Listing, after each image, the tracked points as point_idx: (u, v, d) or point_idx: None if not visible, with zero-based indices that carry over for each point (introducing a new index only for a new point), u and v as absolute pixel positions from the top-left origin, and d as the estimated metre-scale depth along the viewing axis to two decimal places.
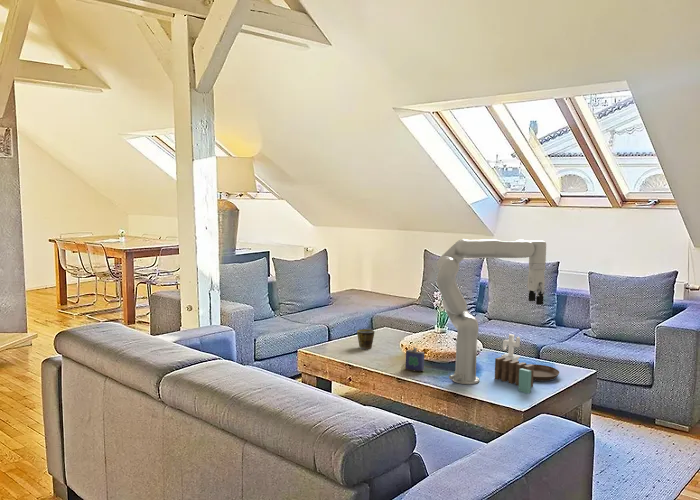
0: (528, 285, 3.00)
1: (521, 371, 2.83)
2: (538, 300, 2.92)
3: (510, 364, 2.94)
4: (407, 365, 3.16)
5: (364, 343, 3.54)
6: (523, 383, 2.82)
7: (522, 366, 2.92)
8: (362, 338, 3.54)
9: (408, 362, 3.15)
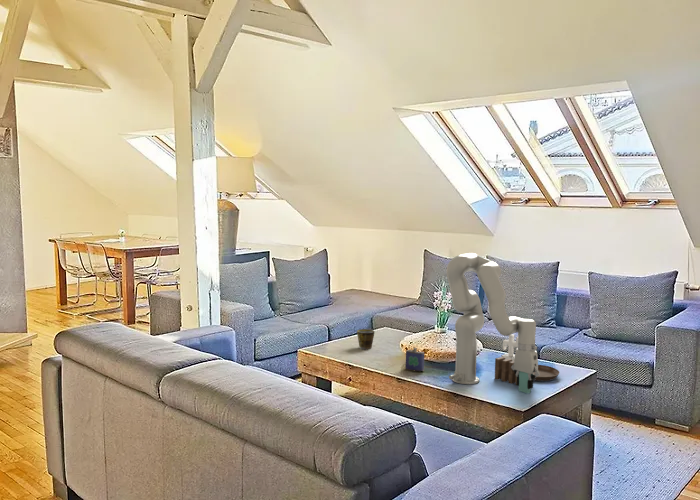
0: None
1: None
2: None
3: (510, 364, 2.94)
4: (407, 365, 3.16)
5: (364, 343, 3.54)
6: (523, 383, 2.82)
7: None
8: (362, 338, 3.54)
9: (408, 362, 3.15)
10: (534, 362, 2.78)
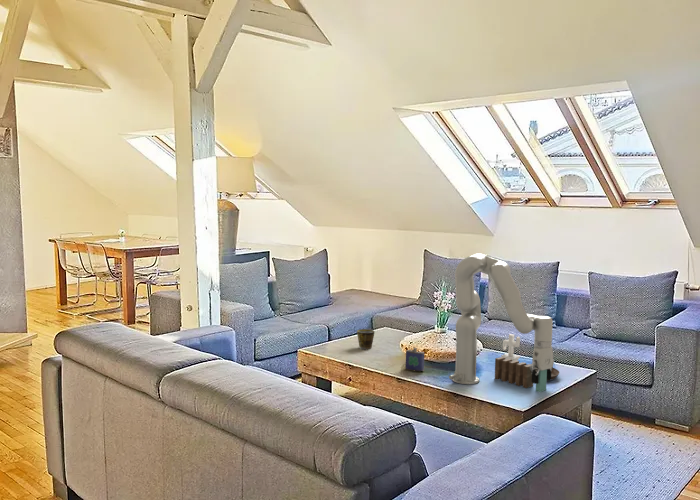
0: (543, 366, 2.80)
1: None
2: None
3: (510, 364, 2.94)
4: (407, 365, 3.16)
5: (364, 343, 3.54)
6: None
7: (522, 366, 2.92)
8: (362, 338, 3.54)
9: (408, 362, 3.15)
10: (534, 358, 2.81)
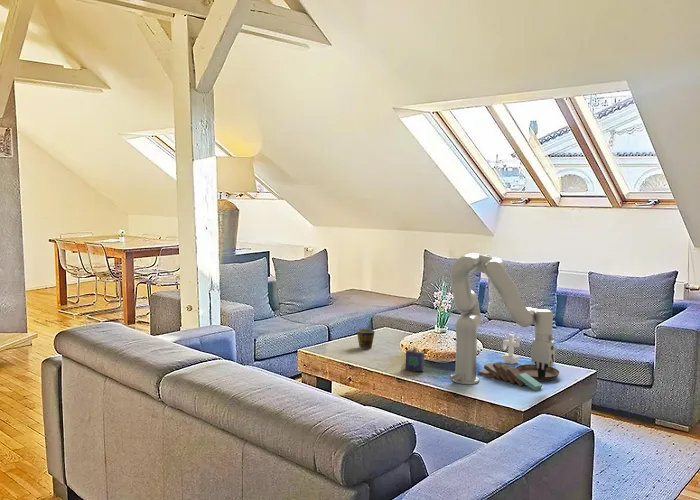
0: None
1: None
2: None
3: (494, 366, 3.02)
4: (407, 365, 3.16)
5: (364, 343, 3.54)
6: None
7: (504, 366, 3.00)
8: (362, 338, 3.54)
9: (408, 362, 3.15)
10: (551, 352, 2.79)
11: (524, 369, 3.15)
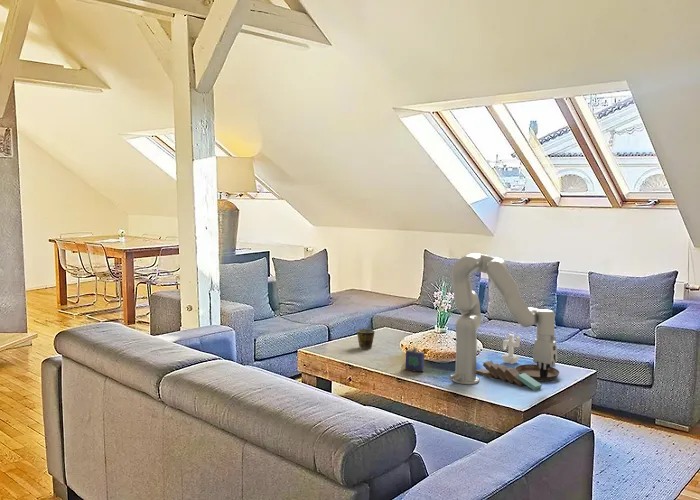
0: None
1: None
2: None
3: (491, 368, 3.03)
4: (407, 365, 3.16)
5: (364, 343, 3.54)
6: None
7: (502, 367, 3.01)
8: (362, 338, 3.54)
9: (408, 362, 3.15)
10: (553, 352, 2.79)
11: (524, 369, 3.15)
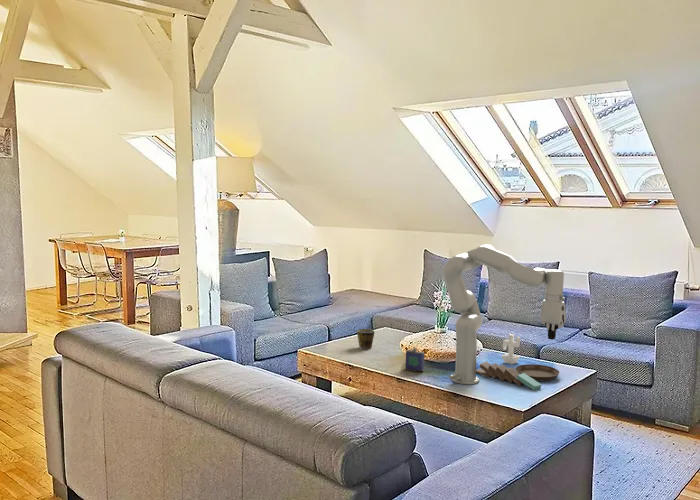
0: None
1: None
2: None
3: (490, 368, 3.04)
4: (407, 365, 3.16)
5: (364, 343, 3.54)
6: None
7: (501, 367, 3.01)
8: (362, 338, 3.54)
9: (408, 362, 3.15)
10: (562, 313, 2.74)
11: (524, 369, 3.15)
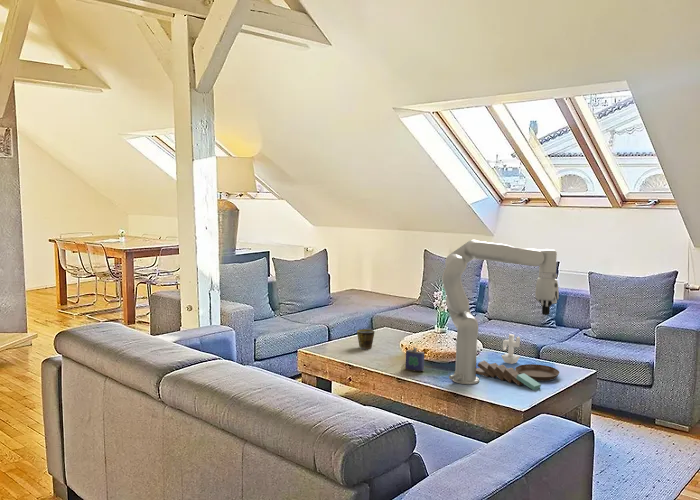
0: None
1: None
2: None
3: (489, 367, 3.05)
4: (407, 365, 3.16)
5: (364, 343, 3.54)
6: None
7: (500, 367, 3.02)
8: (362, 338, 3.54)
9: (408, 362, 3.15)
10: (555, 289, 2.92)
11: (524, 369, 3.15)
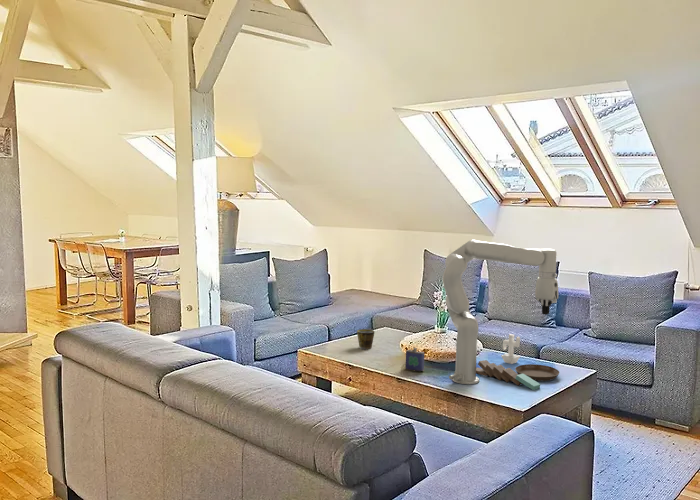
0: None
1: None
2: None
3: (487, 367, 3.06)
4: (407, 365, 3.16)
5: (364, 343, 3.54)
6: None
7: (498, 367, 3.02)
8: (362, 338, 3.54)
9: (408, 362, 3.15)
10: (555, 289, 2.92)
11: (524, 369, 3.15)
